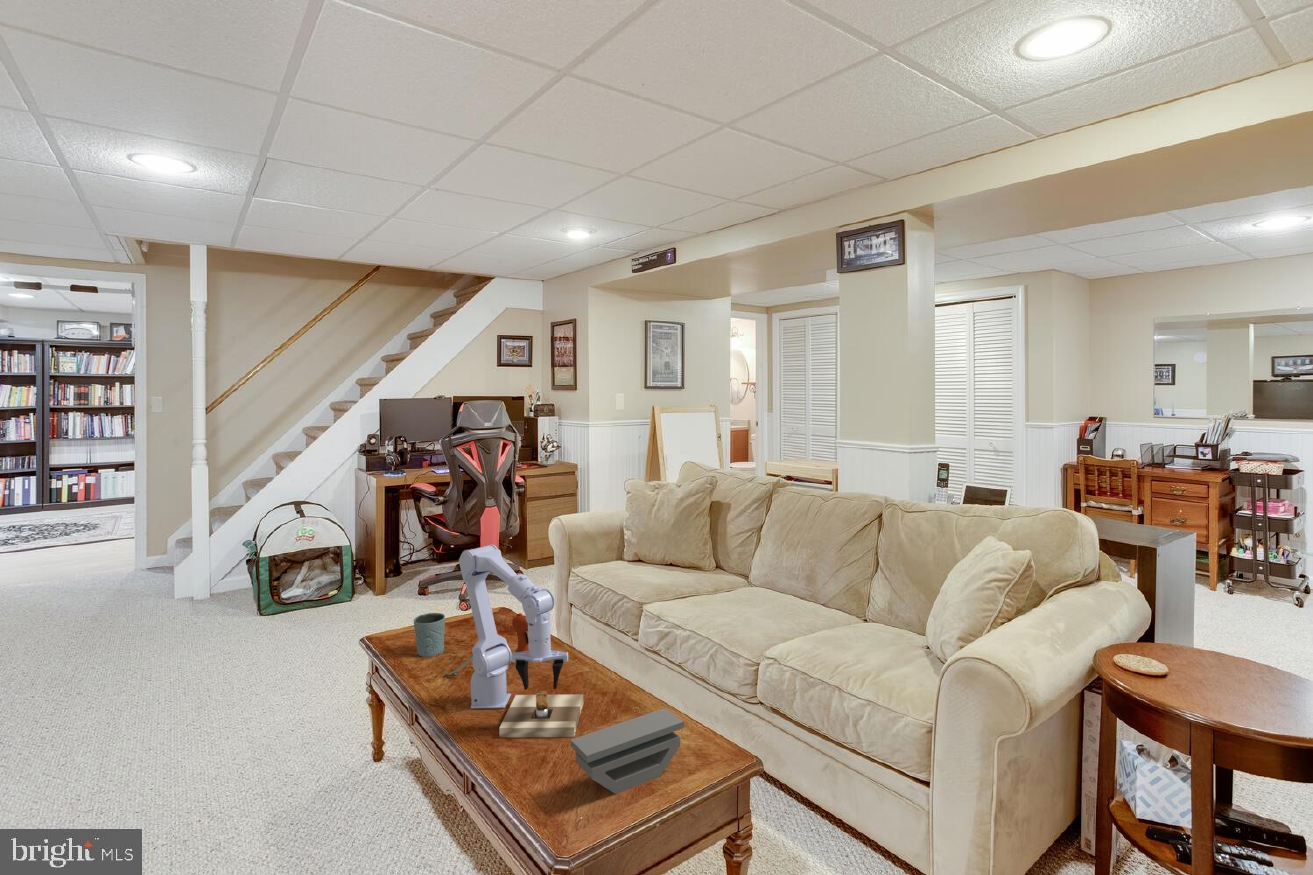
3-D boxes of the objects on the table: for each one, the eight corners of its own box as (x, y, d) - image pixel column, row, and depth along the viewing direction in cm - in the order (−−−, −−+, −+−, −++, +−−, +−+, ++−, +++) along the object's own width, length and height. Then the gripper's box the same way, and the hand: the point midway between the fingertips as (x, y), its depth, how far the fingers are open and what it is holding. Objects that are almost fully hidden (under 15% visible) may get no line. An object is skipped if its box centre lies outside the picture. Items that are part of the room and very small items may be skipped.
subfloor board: (499, 737, 167) (499, 727, 167) (516, 703, 185) (515, 694, 185) (574, 736, 167) (574, 727, 166) (583, 702, 185) (583, 694, 184)
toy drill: (545, 668, 205) (540, 620, 205) (511, 659, 218) (506, 614, 218) (558, 663, 208) (552, 615, 208) (523, 654, 221) (519, 610, 222)
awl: (535, 725, 173) (534, 695, 172) (538, 719, 176) (537, 690, 175) (546, 725, 172) (545, 695, 172) (549, 719, 175) (548, 690, 175)
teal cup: (434, 644, 230) (433, 610, 229) (452, 650, 224) (451, 616, 223) (408, 654, 221) (407, 619, 221) (427, 660, 216) (425, 625, 215)
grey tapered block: (588, 805, 139) (586, 755, 138) (571, 786, 146) (570, 739, 145) (684, 766, 153) (683, 721, 152) (665, 751, 159) (664, 707, 158)
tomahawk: (462, 683, 201) (462, 679, 201) (442, 679, 203) (442, 675, 203) (494, 654, 222) (494, 651, 221) (476, 651, 223) (476, 648, 223)
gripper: (508, 643, 168) (509, 694, 169) (564, 642, 168) (566, 694, 169) (514, 633, 175) (516, 682, 176) (568, 632, 175) (570, 682, 176)
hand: (541, 687), depth 173 cm, fingers open, 7 cm apart
